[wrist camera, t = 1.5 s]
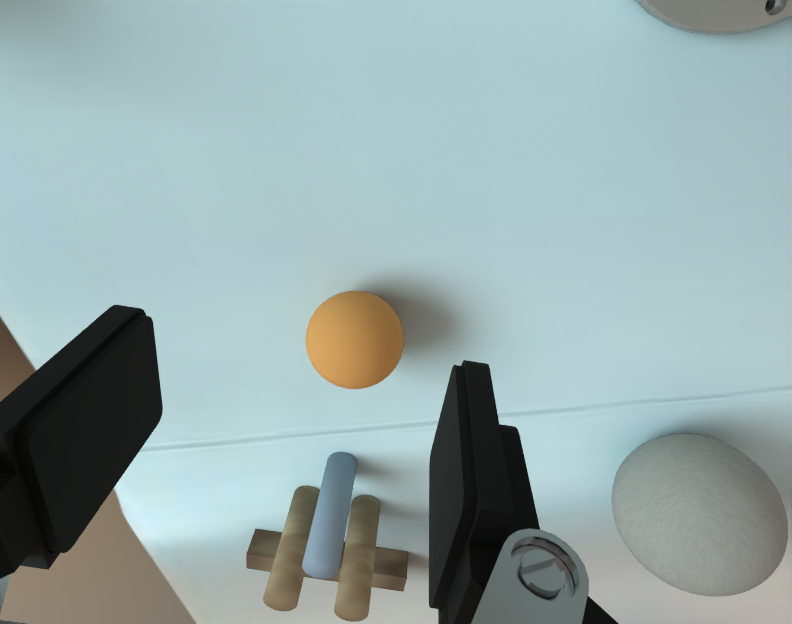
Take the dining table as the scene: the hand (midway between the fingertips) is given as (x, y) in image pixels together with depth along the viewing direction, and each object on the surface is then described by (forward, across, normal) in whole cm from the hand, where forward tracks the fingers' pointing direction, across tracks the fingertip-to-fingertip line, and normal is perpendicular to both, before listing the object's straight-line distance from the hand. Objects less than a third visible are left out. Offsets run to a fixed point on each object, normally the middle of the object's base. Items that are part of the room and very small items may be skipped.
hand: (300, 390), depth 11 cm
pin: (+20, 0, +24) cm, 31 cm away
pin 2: (+20, -3, +28) cm, 34 cm away
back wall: (+20, 0, +34) cm, 40 cm away
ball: (+20, -24, +18) cm, 36 cm away
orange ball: (+17, 0, +10) cm, 19 cm away
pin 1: (+20, +2, +28) cm, 34 cm away
